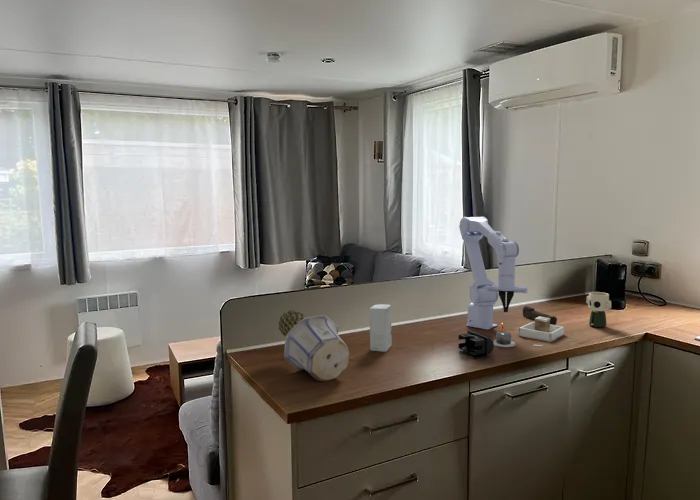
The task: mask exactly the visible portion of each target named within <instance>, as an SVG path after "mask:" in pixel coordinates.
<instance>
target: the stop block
mask: <svg viewBox="0 0 700 500" xmlns="http://www.w3.org/2000/svg"><path fill="white" fill-rule="evenodd" d="M534 322H535V330H536V331H542V332H547V333H550V318H546V317H540V316H539V317H537V318H535V319H534Z"/></svg>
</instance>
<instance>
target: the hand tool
mask: <svg viewBox="0 0 700 500" xmlns="http://www.w3.org/2000/svg"><path fill="white" fill-rule="evenodd" d="M522 315H523V316H524V317H525V318H527V319H530V320H531V319H533V320H535V318H537V317H539V316H540V317H546V318H550V325H556V326H557V323H558V322H557V321H558V318H557V317H556V316H553V315H549V314H548V313H547V314H546V313H542V312H540V311H537V310H536V309H535V308H534V307H531V306H527V305H525V306H523V307H522Z"/></svg>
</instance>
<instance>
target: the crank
mask: <svg viewBox="0 0 700 500" xmlns="http://www.w3.org/2000/svg"><path fill="white" fill-rule="evenodd" d="M506 330H507V327H506V325H504V322H503V321H502V322H500V325H498V331H497V332H496V335H495V336H496V337H495V338H496V339H495V340H496V342H497V343H500V344H510V343H511V341H512V333H511V332H509V331H506Z"/></svg>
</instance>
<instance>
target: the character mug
mask: <svg viewBox="0 0 700 500" xmlns="http://www.w3.org/2000/svg"><path fill="white" fill-rule="evenodd" d="M585 302H586V304H587V306H588V309H589V310H590V316H589V323H588V325H589V326H593V327H594V328H595V327H596V328H603V327H606V326H607V317H606V315H607V314H606V311H608V310H609V309H610V310H611V309H612V300H610V294H609V293H606V292H604V291H603V292H600V291H592V292H589V293H588V295H586V301H585Z"/></svg>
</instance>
